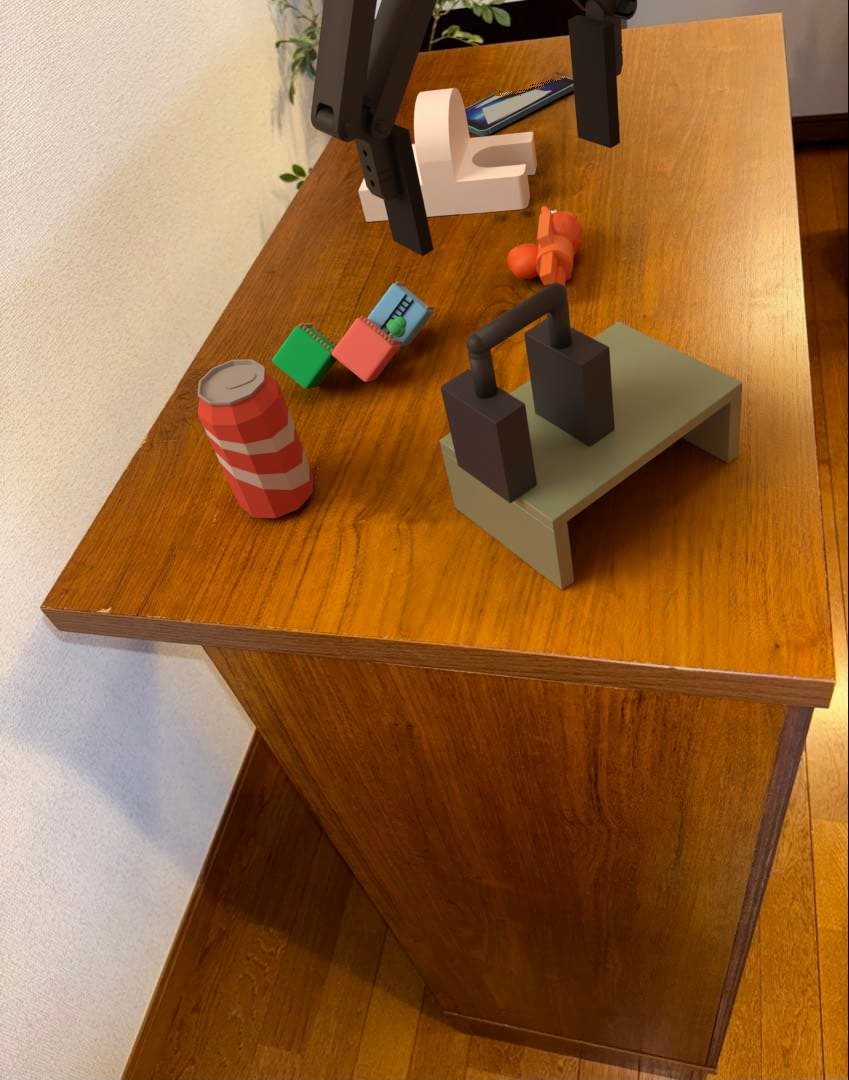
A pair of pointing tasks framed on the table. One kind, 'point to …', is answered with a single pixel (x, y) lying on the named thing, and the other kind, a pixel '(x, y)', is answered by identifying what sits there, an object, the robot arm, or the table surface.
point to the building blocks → (355, 340)
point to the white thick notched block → (462, 163)
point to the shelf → (603, 447)
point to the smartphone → (512, 106)
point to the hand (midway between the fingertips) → (509, 191)
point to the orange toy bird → (549, 249)
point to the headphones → (557, 386)
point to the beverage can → (254, 438)
